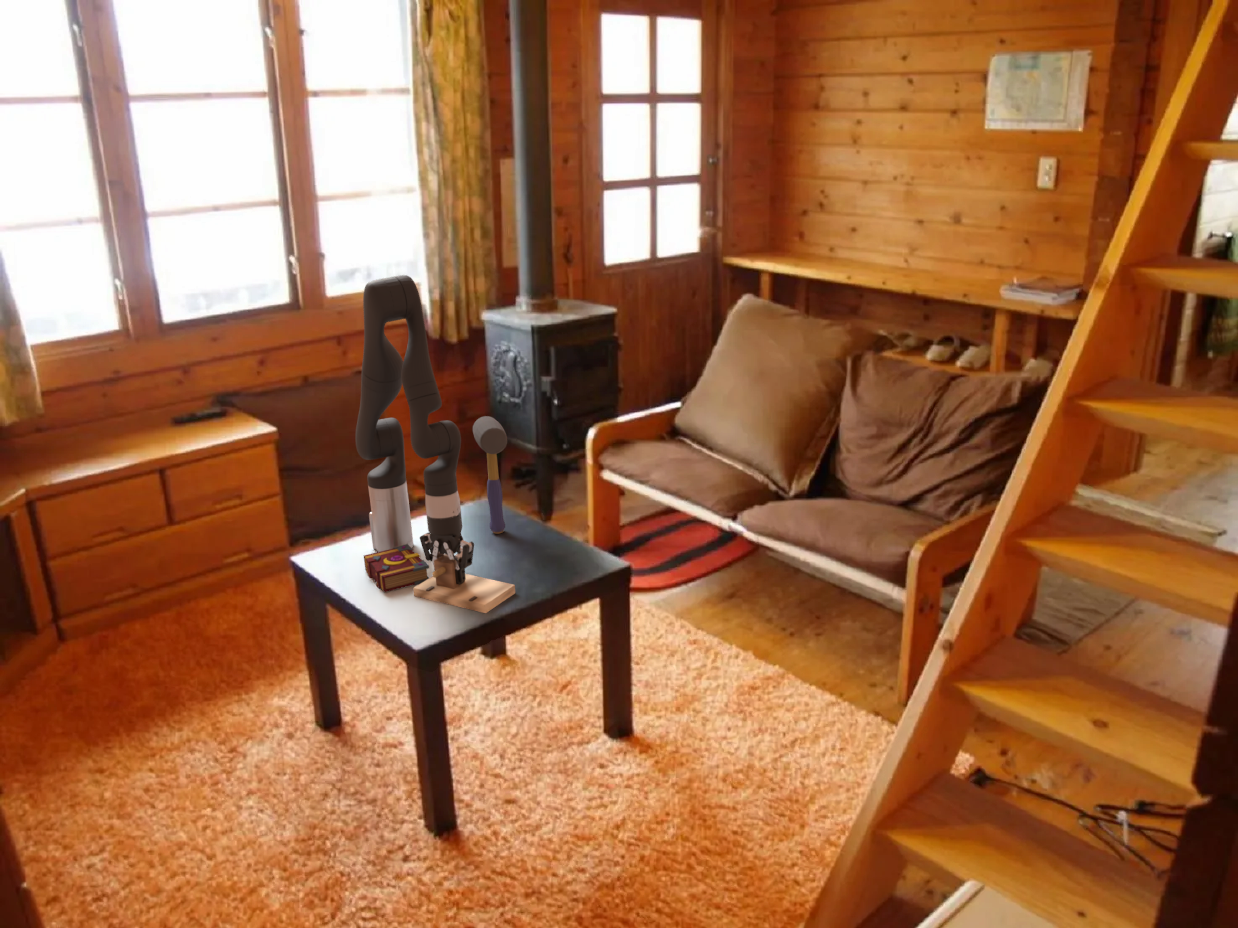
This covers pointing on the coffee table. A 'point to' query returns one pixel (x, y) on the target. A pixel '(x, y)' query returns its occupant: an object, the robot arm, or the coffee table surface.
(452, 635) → the coffee table surface
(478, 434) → the rubber mallet
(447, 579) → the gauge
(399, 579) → the decorative book
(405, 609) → the coffee table surface
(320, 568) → the coffee table surface
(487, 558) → the coffee table surface
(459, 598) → the board
